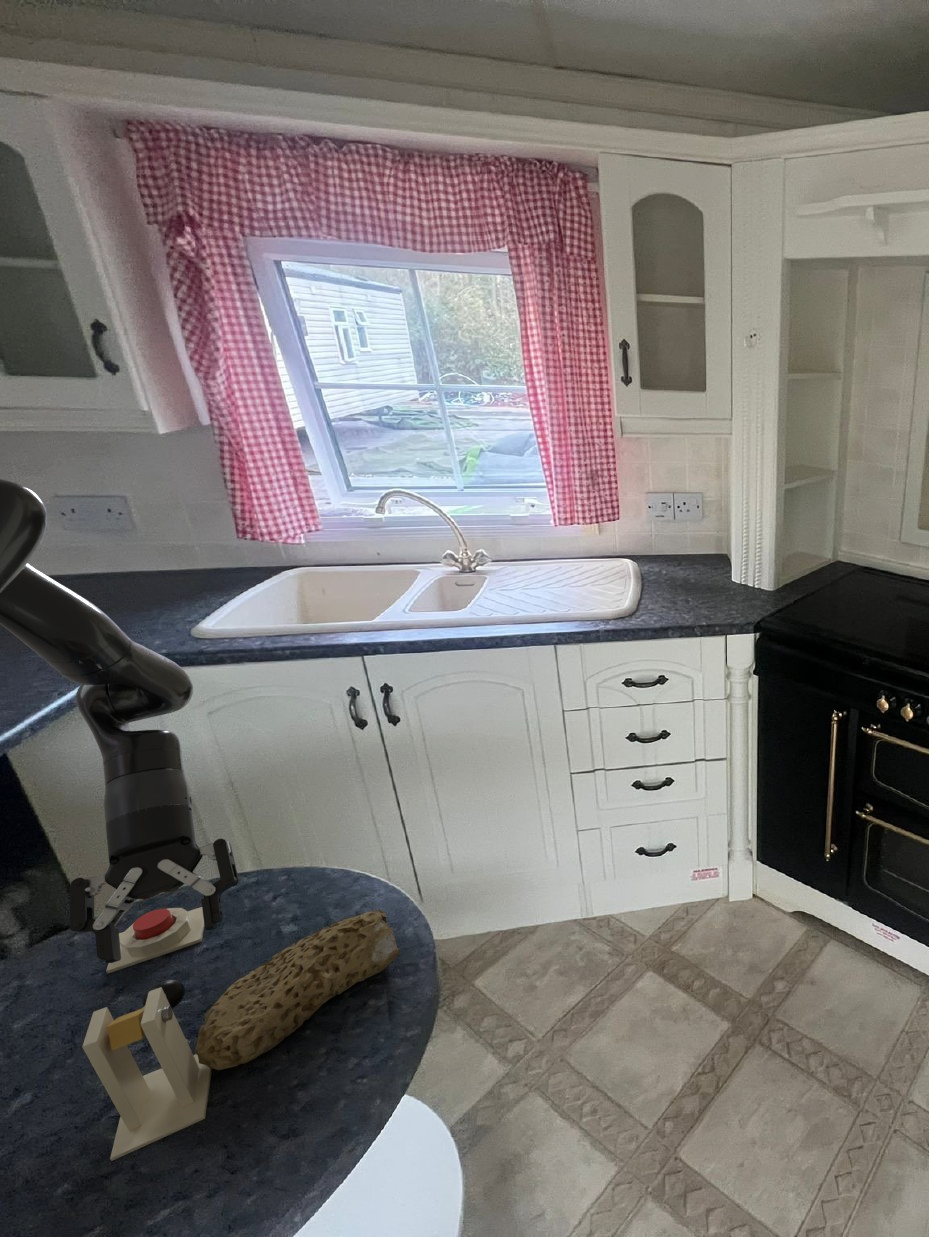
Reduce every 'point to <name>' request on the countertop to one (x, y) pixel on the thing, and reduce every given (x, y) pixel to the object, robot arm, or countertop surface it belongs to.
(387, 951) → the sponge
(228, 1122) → the countertop surface
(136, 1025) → the lever
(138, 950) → the button block
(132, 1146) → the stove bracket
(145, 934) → the button
